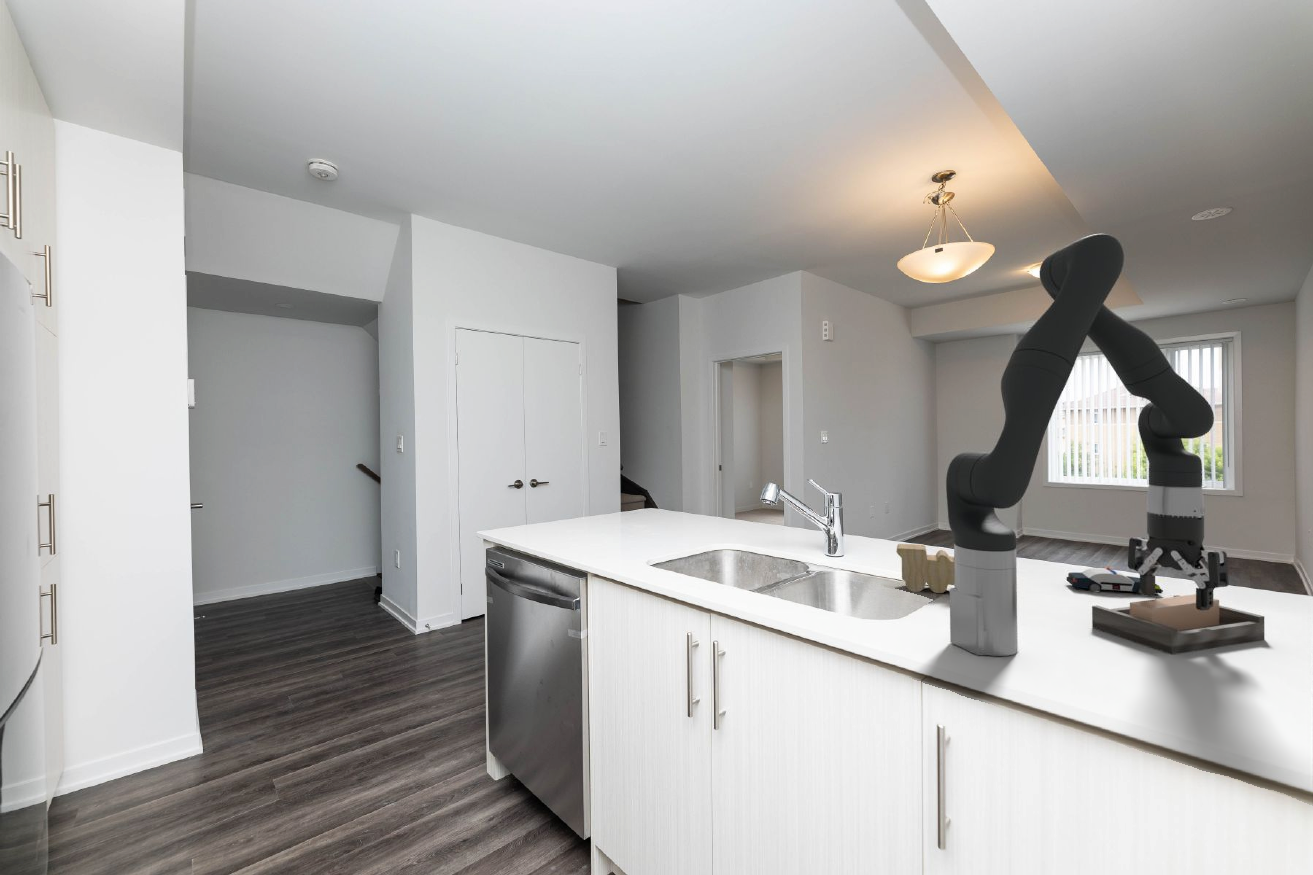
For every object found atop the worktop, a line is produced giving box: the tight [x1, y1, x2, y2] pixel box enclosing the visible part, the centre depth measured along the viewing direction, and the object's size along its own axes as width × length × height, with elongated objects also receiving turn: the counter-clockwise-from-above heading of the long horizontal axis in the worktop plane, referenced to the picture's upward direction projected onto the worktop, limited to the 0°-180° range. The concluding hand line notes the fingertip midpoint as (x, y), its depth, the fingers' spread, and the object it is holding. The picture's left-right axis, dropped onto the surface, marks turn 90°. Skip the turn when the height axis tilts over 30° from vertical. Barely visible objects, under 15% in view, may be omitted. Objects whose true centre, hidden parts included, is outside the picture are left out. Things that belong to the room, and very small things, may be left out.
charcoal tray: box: [1091, 594, 1265, 655], centre depth 101 cm, size 21×13×4 cm, turn 104°
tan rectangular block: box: [1129, 593, 1220, 631], centre depth 101 cm, size 16×4×4 cm, turn 104°
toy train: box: [896, 543, 955, 594], centre depth 130 cm, size 6×17×10 cm, turn 66°
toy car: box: [1066, 567, 1164, 596], centre depth 127 cm, size 5×16×5 cm, turn 68°
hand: (1175, 602), depth 101 cm, fingers open, 8 cm apart
